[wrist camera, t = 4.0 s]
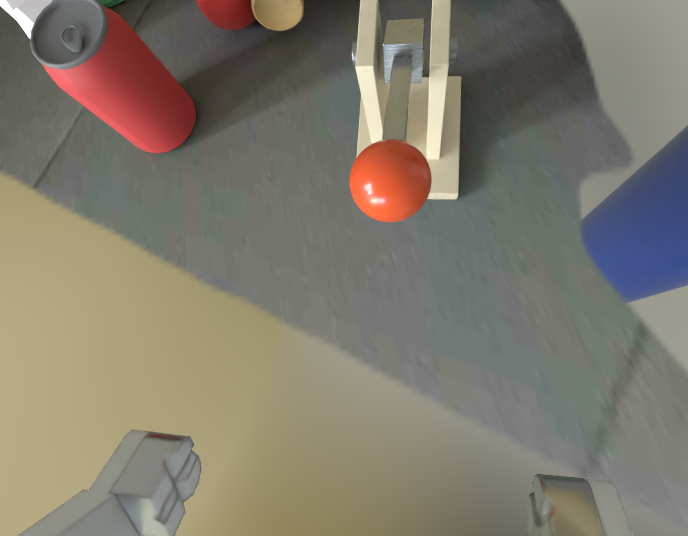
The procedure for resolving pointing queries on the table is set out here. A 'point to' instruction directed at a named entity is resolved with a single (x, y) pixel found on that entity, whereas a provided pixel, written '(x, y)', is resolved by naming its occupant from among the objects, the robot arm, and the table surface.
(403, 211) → the lever
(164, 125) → the beer can
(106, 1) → the circuit board
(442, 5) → the bracket
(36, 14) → the figurine
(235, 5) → the kendama
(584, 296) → the table surface
